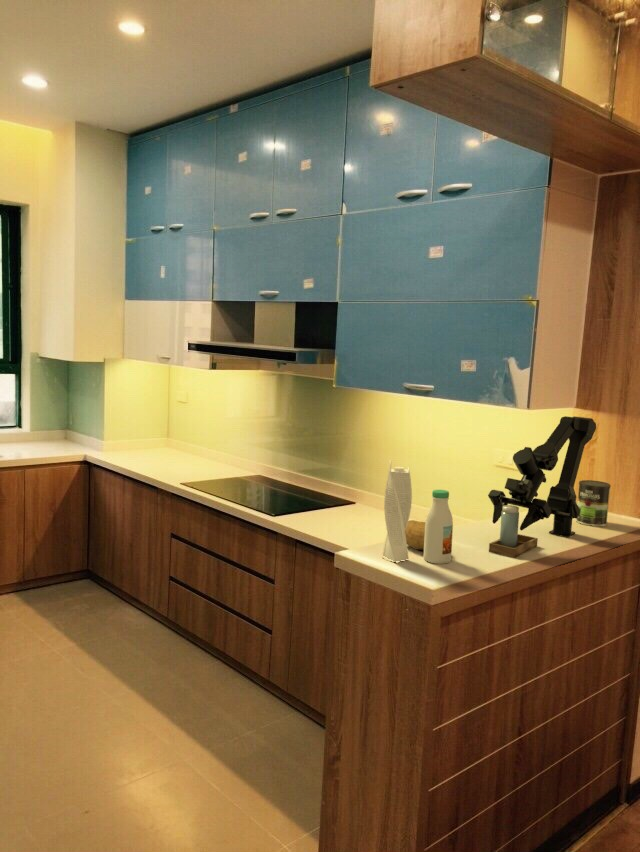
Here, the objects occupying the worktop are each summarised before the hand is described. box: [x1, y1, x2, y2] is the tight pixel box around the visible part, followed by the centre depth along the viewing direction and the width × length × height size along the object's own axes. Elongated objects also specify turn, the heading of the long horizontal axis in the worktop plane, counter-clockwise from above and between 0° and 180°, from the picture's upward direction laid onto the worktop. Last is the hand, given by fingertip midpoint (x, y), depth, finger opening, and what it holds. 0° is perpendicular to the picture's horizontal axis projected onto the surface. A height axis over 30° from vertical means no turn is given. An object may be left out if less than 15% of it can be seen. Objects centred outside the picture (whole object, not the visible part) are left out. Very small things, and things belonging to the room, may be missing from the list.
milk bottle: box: [423, 489, 454, 565], centre depth 201 cm, size 8×8×20 cm
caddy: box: [488, 533, 538, 559], centre depth 216 cm, size 16×8×3 cm, turn 140°
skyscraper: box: [382, 459, 413, 562], centre depth 201 cm, size 8×8×28 cm
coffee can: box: [575, 479, 612, 527], centre depth 249 cm, size 10×10×14 cm
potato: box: [405, 519, 426, 551], centre depth 213 cm, size 10×14×8 cm
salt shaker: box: [499, 504, 520, 548], centre depth 212 cm, size 5×5×13 cm
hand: (506, 526), depth 211 cm, fingers open, 9 cm apart
